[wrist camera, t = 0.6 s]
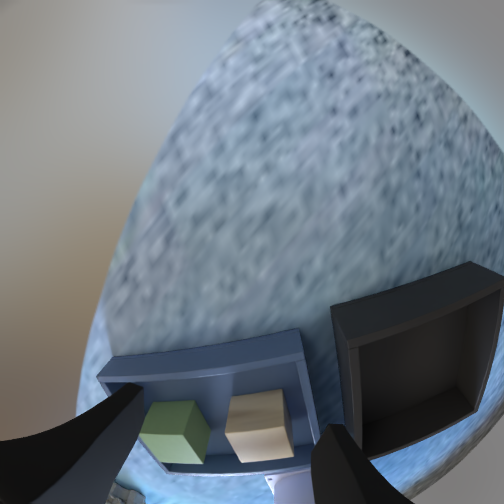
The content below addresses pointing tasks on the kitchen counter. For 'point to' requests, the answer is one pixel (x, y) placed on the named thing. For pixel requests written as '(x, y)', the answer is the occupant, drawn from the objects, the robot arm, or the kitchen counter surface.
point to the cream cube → (260, 426)
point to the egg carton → (124, 496)
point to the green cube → (176, 432)
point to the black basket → (417, 356)
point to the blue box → (226, 394)
